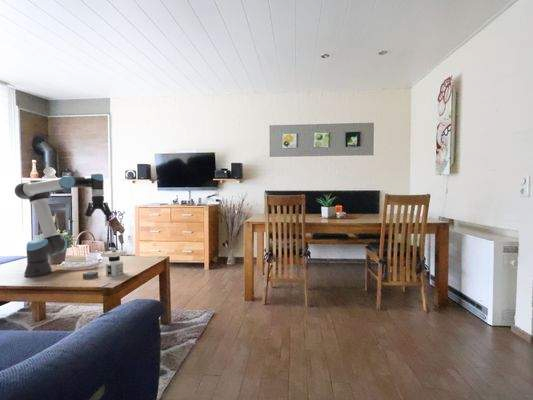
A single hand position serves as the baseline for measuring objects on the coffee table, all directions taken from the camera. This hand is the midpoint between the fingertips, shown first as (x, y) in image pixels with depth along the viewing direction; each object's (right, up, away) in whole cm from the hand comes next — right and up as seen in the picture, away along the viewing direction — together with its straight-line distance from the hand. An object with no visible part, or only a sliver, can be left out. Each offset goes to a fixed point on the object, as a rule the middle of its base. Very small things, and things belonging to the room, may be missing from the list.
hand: (98, 225), depth 215 cm
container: (+16, -32, -10) cm, 37 cm away
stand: (+5, -32, -18) cm, 37 cm away
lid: (+16, -19, -11) cm, 27 cm away
